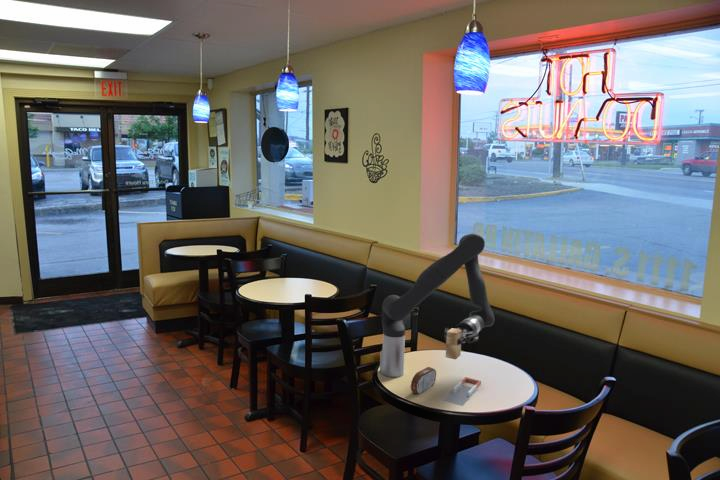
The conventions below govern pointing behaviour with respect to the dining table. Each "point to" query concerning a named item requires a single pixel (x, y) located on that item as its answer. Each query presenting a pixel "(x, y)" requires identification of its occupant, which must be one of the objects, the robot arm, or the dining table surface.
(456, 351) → the oak block
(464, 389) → the long grey tray
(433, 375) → the tin
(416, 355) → the dining table surface
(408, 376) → the dining table surface
